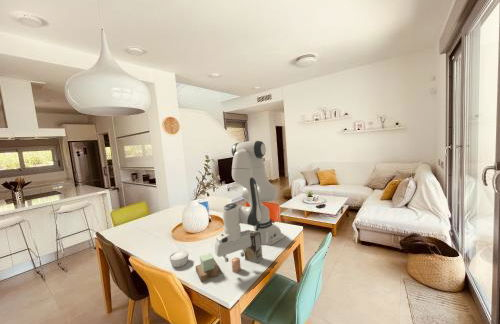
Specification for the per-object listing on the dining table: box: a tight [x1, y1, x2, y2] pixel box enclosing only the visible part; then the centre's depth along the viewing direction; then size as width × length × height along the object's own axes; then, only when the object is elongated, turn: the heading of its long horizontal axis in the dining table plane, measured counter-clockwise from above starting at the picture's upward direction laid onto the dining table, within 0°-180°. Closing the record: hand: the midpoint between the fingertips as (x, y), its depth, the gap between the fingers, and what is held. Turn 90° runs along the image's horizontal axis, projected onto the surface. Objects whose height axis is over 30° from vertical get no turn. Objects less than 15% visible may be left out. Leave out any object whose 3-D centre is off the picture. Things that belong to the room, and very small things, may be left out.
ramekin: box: [168, 249, 189, 268], centre depth 127 cm, size 11×11×5 cm
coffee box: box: [244, 229, 264, 264], centre depth 124 cm, size 9×6×16 cm
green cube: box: [199, 252, 215, 272], centre depth 115 cm, size 6×6×6 cm
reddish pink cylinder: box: [230, 257, 242, 274], centre depth 115 cm, size 5×5×6 cm
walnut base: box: [195, 259, 222, 283], centre depth 115 cm, size 11×11×3 cm
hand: (234, 258), depth 114 cm, fingers open, 8 cm apart
